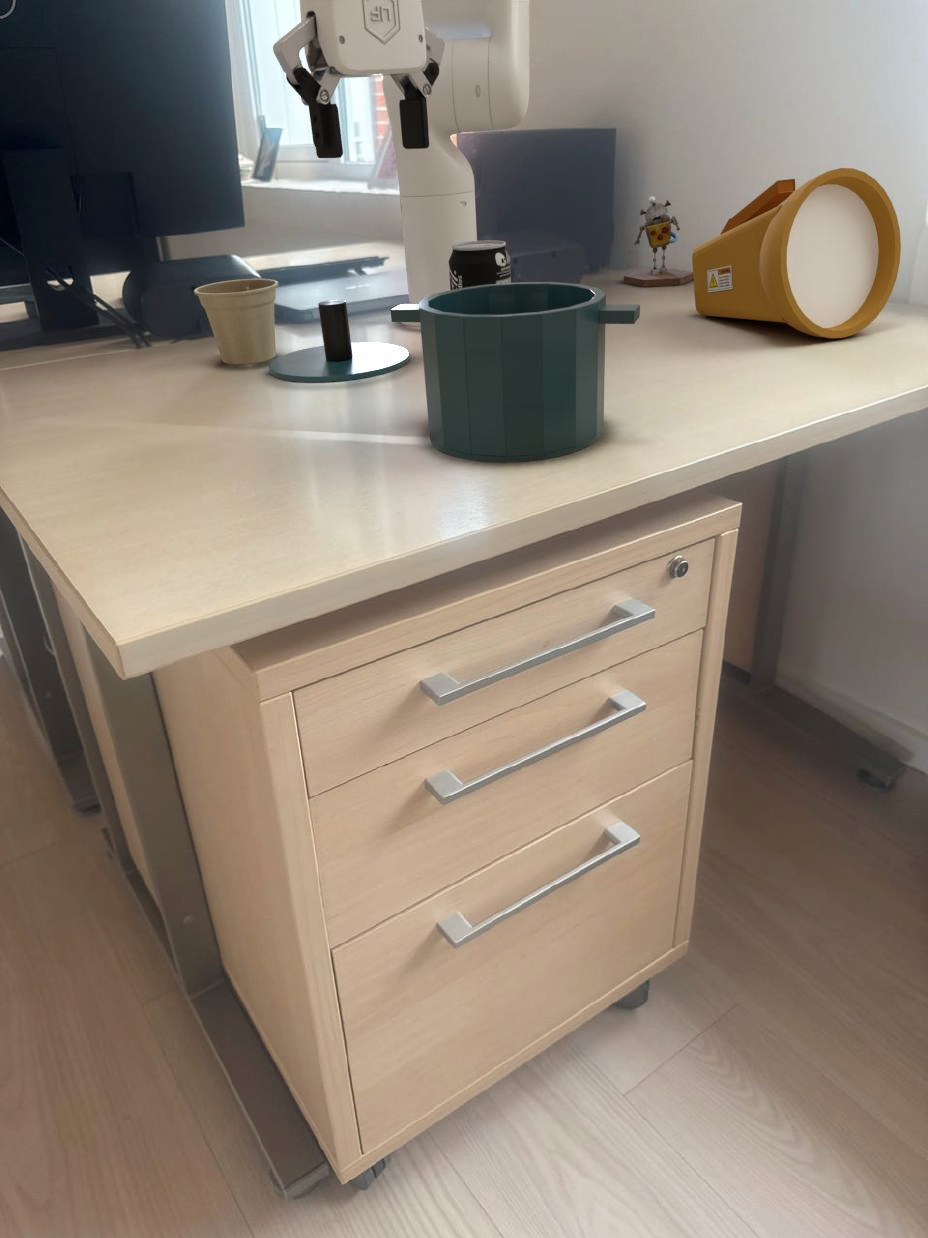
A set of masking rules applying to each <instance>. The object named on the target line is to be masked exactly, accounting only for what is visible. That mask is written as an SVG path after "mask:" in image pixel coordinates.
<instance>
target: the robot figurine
mask: <svg viewBox="0 0 928 1238" xmlns="http://www.w3.org/2000/svg"><path fill="white" fill-rule="evenodd" d="M648 202H649V204H650V205H649V206H648V207H647V208H646V211H645V210H644V209H642V208H640V211H639V217H641V216H642V215H644V216H645V217H644V220H643V224H641V225H640V226H639V230H638V231H639V232H638V234H637V237H636V239H634V240H633V245H640V243H641V238H642V234H643V231H644V233H645V237H646V240H647V242H648V245H649V247H650V248H651V249H652V252H653V255H654V256H653V259H652V262H653V268H652V269H642V270H640V269H639V270H636V271H633V272H630V273H628V274H625V275H623V283H624V284H629V285H633V286H638V287H643V288H646V287H666V286H669V287H670V286H681V285H683V284H686V283H688V282H691V281H694V278H693V271H689V270H683V269H677V268H666V265H665V260H666V256H665V251H666V250H667V247H668V246H669V245H670V244H675V243H676V242H678V240H679V238H678V235H677V234H676V233H675V232H674V231H672V225H674V226H675V227H676V231H677V232H678V231H680V230H681V227H680V226H679V225H680V224H679V222H678V219H677V217H676V216H675V215H672V216H670V215H668V213H669V211H668V208H667V207H669V206H672V204H671V202H670V201H669V200H668V199H666V201H665V204H663V203H662V202H656V197H655V196H654V195H652V196H649V198H648ZM671 238H672V239H671ZM658 248H661V250H662V255H661V260H662V261H661V263H662V264H661V267H660V268H657V263H656V262H657V258H656V254H657V252H658V250H659V249H658Z"/></svg>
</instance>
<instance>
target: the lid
mask: <svg viewBox="0 0 928 1238" xmlns="http://www.w3.org/2000/svg"><path fill="white" fill-rule="evenodd" d="M317 305H318V312H319V320H320V327H321V335H322V342H323V345H319V346H313V347H307V348H302V349H298V350H295V351H292V352H288V353H286V354H283V355H281V356H278V357H276V358H273V360H272V361H270V363H269V364H268V369H269V373H270V375H271V376H273V377H274V378H276V379H280V380H284V381H289V382H297V383H332V382H333V383H335V382H344V381H353V380H360V379H365V378H371V377H376V376H380V375H384V374H386V373H390V372H393V371H395V370H398V369H400V368H402V367H404V366H405V365H407V364H408V362H409V361H410V352H409V351H408V350H407V348H404V347H403V346H398V345H396V344H391V343H383V342H352V341H351V331H350V322H349V315H348V308H347V307H348V305H347V300H345V299H328V300H323V301H320V302H318V304H317Z"/></svg>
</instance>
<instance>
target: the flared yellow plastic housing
mask: <svg viewBox="0 0 928 1238" xmlns="http://www.w3.org/2000/svg"><path fill="white" fill-rule="evenodd" d="M897 215H898V214H897V213H896V210H895V207H894V205H893V201H892V200H891V198H890V197H889V195H888V193H887V192H886V190H885V188H884V187H883V186H882V185H881V184H880V183H879V181H877V179H875V178H874V177H872V176H871V175H869V174H868V173H866V172H865V171H861V170H859V169H856V168H851V167H850V168H849V167H839V168H835V169H831V170H828V171H825V172H823V173H821V174H818V175H816V176H815V177H813V178H811V179H809V180H807V181H806V182H805V183H803V184H802V185H800V186H799V187H798V188H797V189H796V178H789V179H779V180H776V181H775V182H774V183H772V184H771V185H770V186H769V187H768V188H766V189H765V190H764V191H762V193H760V194H759V195H758V196H756V198H754V199H753V200H752V201H750V202H749V203H748V204H747V205H745V207H743V208H742V209H741V210H739V212H737V213H735V214H734V215H733V216H732V217H730V218H728V220H727V221H726V223H725V225H724V227H723V229H722V230H721V232H720V233H719V235H717V236H715V237H713V238H711V239H708V240H706V241H705V242H703V243H701V244H699V245H697V246H696V247H695V248H694V249H693V251H692V256H691V263H692V272H693V278H694V279H693V291H694V293H693V294H694V304H695V305H694V306H695V310H696V312H697V313H698V314H699V315H701V316H707V317H719V318H731V319H740V320H742V319H743V320H751V321H752V320H753V321H761V322H762V321H764V322H774V323H785V324H787V325H789V326H790V327H791V328H793V329H794V330H796V331H798V332H801V333H803V334H806V335H808V336H811V337H816V338H822V339H823V338H824V339H843V338H847V337H850V336H853V335H856V334H857V333H859V332H861V331H863V330H865V329H866V328H867V327H868V326H869V325H870V324H872V322H874V321H875V319H877V317H878V316H879V315H880V313H881V312H882V311H883V309H884V308H885V306H886V304H887V303H888V301H889V299H890V297H891V296H892V295H891V294H892V293H893V290H894V287H895V284H896V281H897V279H898V273H899V268H900V264H901V254H902V253H901V251H902V242H901V230H900V224H899V220H898V216H897Z"/></svg>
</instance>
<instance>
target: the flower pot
mask: <svg viewBox="0 0 928 1238" xmlns="http://www.w3.org/2000/svg"><path fill="white" fill-rule="evenodd" d="M278 286H279V281H278V280H276V279H271V278H244V279H243V278H242V279H232V280H224V281H218V282H212V283H208V284H204V285H201V286H198V287H196V288H195V289H194V290H193V293H194V295H196V296H198V299H199V302H200V304H201V306H202V307H203V308H204V311H205V313H206V316H207V319H208V322H209V326H210V328H211V331H212V334H213V337H214V340H215V342H216V345H217V346H216V347H217V348H218V352H219V355H220V358H221V361H222V362H223V363H224V364H228V365H247V364H256V363H261V362H265V361H269V360H271V359H275V357H276V356H277V350H276V347H277V345H276V325H275V324H276V321H275V300H276V299H277V287H278Z"/></svg>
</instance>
